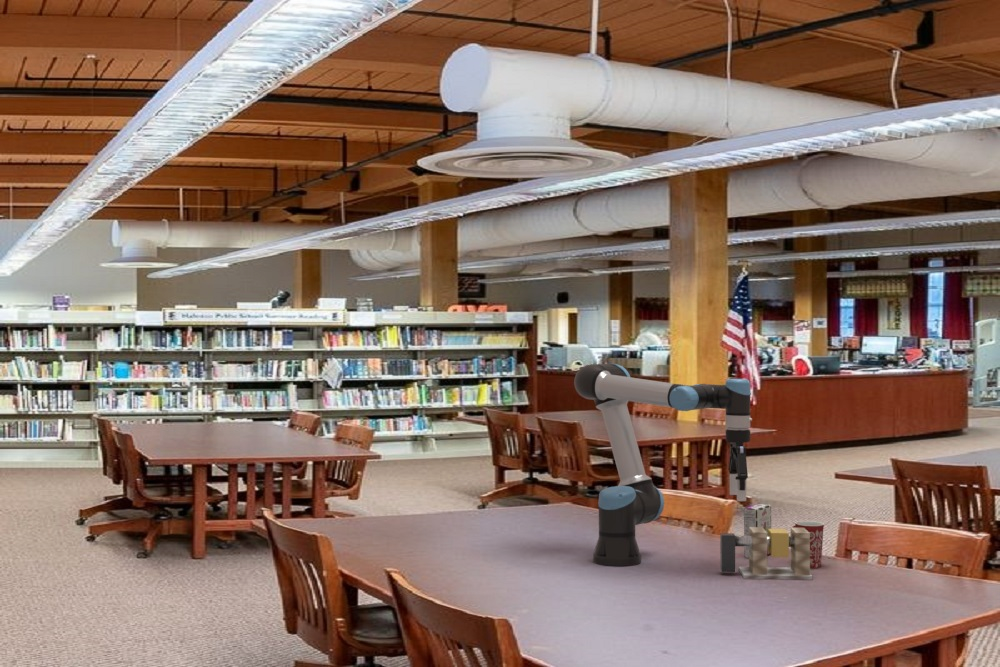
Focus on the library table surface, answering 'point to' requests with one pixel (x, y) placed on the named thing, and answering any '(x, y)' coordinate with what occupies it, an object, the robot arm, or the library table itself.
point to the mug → (813, 540)
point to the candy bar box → (757, 520)
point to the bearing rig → (761, 571)
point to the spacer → (779, 543)
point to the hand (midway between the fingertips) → (737, 497)
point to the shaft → (730, 541)
